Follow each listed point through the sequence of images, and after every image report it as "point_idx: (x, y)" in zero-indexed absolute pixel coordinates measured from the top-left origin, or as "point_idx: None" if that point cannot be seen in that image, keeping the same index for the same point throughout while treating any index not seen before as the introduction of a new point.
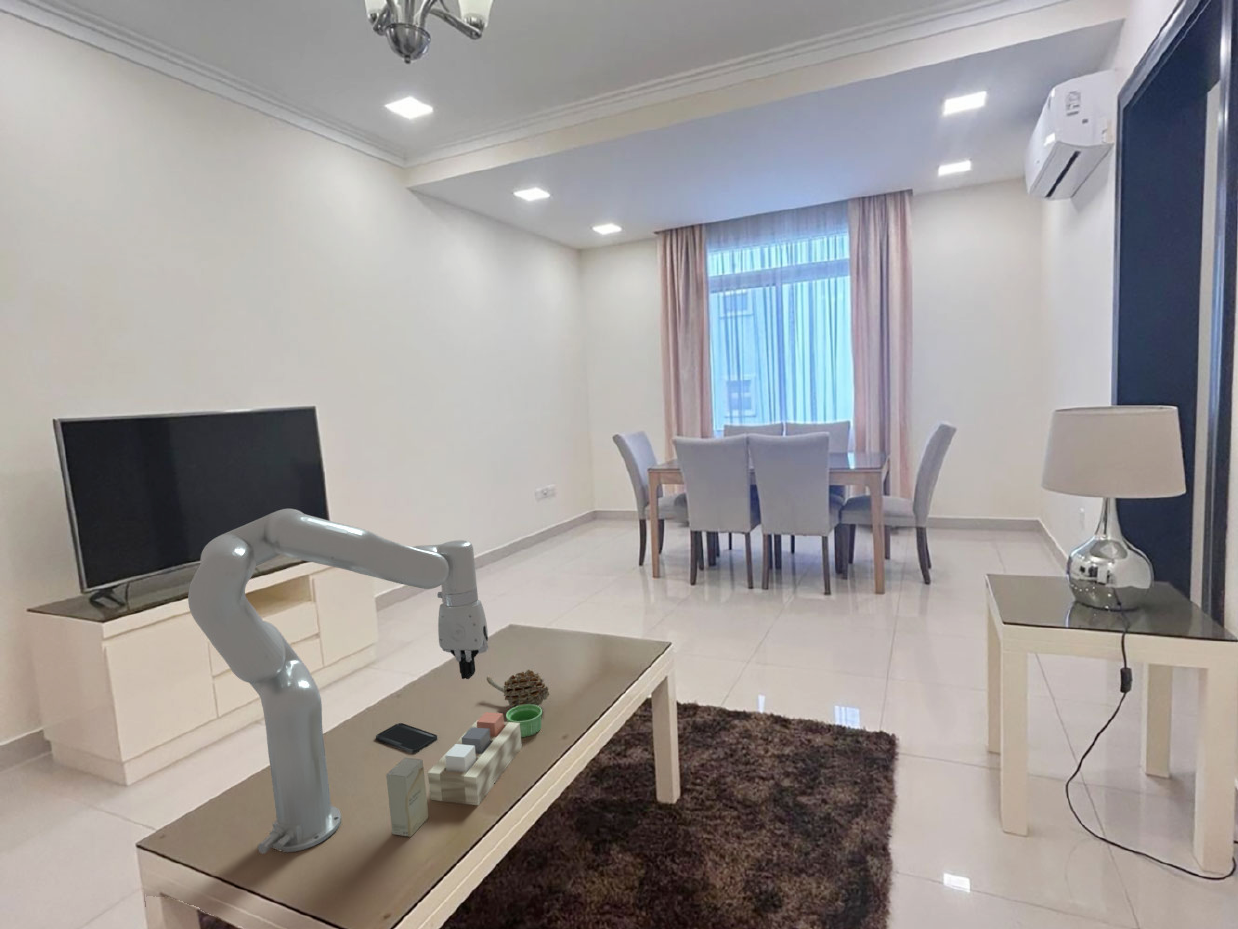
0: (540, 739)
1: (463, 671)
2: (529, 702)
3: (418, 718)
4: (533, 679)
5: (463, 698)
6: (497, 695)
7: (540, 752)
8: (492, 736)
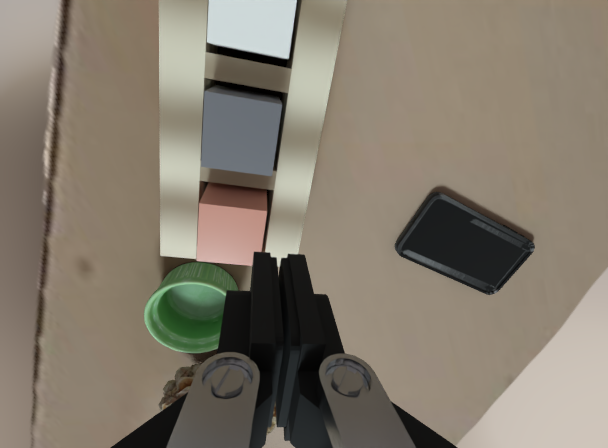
0: (143, 255)
1: (290, 287)
2: None
3: (455, 316)
4: None
5: None
6: None
7: (117, 202)
8: (217, 188)
